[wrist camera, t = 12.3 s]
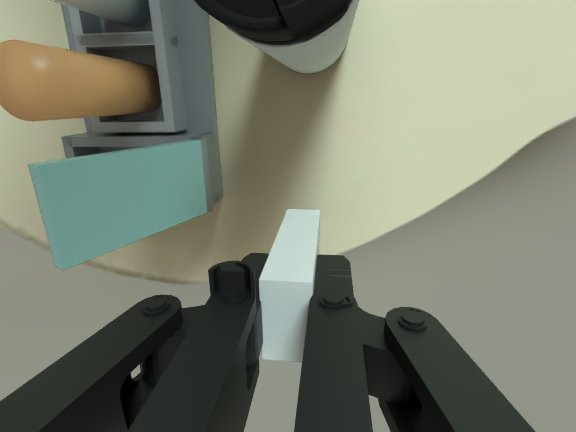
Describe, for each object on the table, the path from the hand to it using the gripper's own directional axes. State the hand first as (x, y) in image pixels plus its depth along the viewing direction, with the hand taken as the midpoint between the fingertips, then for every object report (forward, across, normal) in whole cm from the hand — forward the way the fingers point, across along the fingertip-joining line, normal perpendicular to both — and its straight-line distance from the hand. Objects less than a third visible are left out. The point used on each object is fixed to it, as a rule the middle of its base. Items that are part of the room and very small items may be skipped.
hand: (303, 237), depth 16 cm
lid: (+6, -12, 0) cm, 13 cm away
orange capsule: (+15, -15, +7) cm, 22 cm away
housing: (+16, -15, +7) cm, 23 cm away
